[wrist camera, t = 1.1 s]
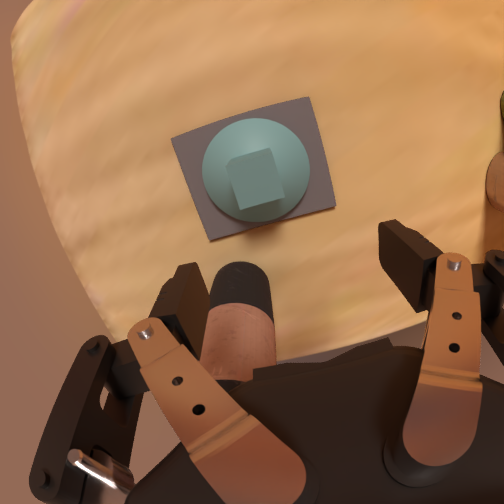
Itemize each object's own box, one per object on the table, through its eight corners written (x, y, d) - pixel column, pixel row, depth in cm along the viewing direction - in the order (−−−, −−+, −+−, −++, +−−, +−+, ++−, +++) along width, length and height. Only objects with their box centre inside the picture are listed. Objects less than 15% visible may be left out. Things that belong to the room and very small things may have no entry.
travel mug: (283, 280, 34) (302, 426, 16) (247, 317, 37) (241, 453, 19) (234, 247, 32) (211, 394, 14) (200, 289, 35) (163, 427, 17)
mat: (307, 96, 24) (308, 96, 24) (335, 204, 30) (336, 205, 29) (172, 138, 27) (170, 138, 26) (210, 238, 32) (209, 240, 31)
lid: (292, 106, 24) (301, 102, 19) (318, 204, 29) (331, 223, 24) (189, 137, 26) (173, 142, 21) (223, 230, 31) (216, 254, 25)
